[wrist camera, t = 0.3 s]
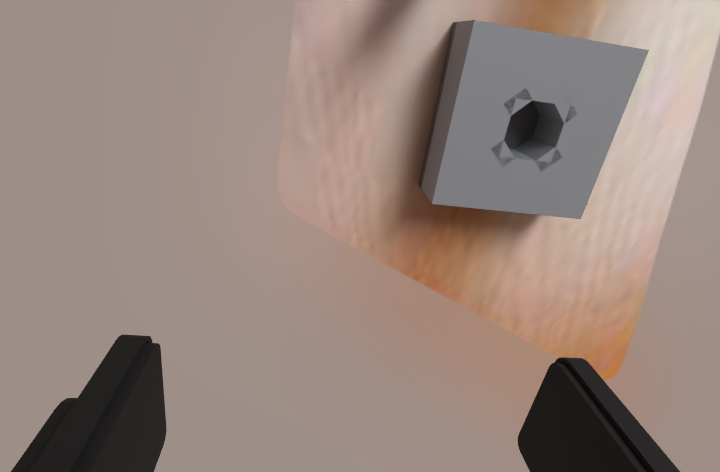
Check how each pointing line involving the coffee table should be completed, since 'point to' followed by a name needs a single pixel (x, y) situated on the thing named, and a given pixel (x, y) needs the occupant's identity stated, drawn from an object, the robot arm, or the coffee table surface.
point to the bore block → (525, 119)
